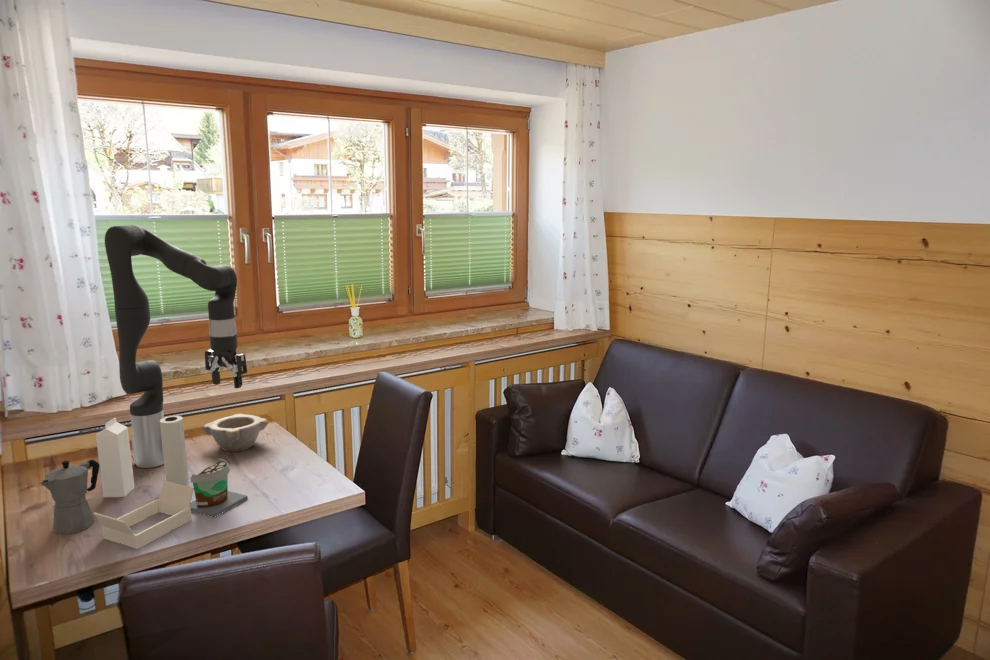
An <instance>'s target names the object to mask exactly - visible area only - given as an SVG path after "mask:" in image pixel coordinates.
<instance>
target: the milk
mask: <svg viewBox="0 0 990 660" xmlns="http://www.w3.org/2000/svg"><path fill="white" fill-rule="evenodd" d="M104 426H105V428H104V429H102V430H101V431H99V432H98V433H96V434H95V440H96V449H97V456H98V457H97V458H98V463H99V471H100V473H99V474H100V479H101V488H102V497H103V498H125V497H127V496H128V495H129V494H131V492H132V491H133V490H134V489H135V478H134V471H133V463H132V462H133V461H132V453H131V444H130V438H129V437H130V436H129V428H128V426H126V425H124V424H122V423H120V422H118V421H117V417H114V418H112V419H110V420H108V421H107V422H106V423H105V425H104Z"/></svg>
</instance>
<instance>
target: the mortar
mask: <svg viewBox="0 0 990 660" xmlns="http://www.w3.org/2000/svg"><path fill="white" fill-rule="evenodd" d="M268 424H269V421H268V419H267V418H263V417H260V416H258V415H253V414H244V413H236V414H232V415H229V416H225V417H222V418H217V419H216V420H214V421H211V422H208V423H205V424H204V425H203V426H202V430H203V431H204V433H206V434H207V435H208V436H212V437H213V439H214V440H215V442H216V444H217V445H218V446H219V447H220V448H221V449H222V450H224V451H226V452H233V453H234V452H242V451H245V450H249V449H251V447H253V446H254V444H255V443H256V440H257V439H258V436H259V434H260V432H261V431H263V430H265V428H267V426H268Z"/></svg>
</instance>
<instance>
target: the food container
mask: <svg viewBox="0 0 990 660" xmlns="http://www.w3.org/2000/svg"><path fill="white" fill-rule="evenodd" d="M230 471H231V467H230V465H229V463H228V461H227V460H225V459H223V458H218V462H217V463H214V464H213V465H211V466H208V467H205V468H204V469H203V470H201V472H199V473H198V474H191V477H190V483H192V485H193V487H192V488H194V491H193V493H194V497H195V500H196V503H197V507H199V508H207V507H213V506H216V505H219V504H221V503H223V502H225V501H226V500H227V497H228V491H229V490H228V489H229V488H228V485H229V484H228V482H229V481H228V479H229V478H228V475H229V474H230Z"/></svg>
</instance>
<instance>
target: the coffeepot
mask: <svg viewBox="0 0 990 660" xmlns="http://www.w3.org/2000/svg"><path fill="white" fill-rule="evenodd" d="M61 465H62V467H58V468H55V469H52V470H51V471H50V472H47V473H46V474H44V476H45V478H44V479H43V480H42V481H41V482H40V486H44V487H45V488H46V489H47V490H48V491H49V492H50V494H51V497H52V499H53V501H54V508H53V509H54V510H53V524H52V525H53V526H52V529H53V530H54V532H55V534H59V535H72V534H75V533H80V532H82V531H85V530H86V529H89V528H90V527H92V526H93V524H94V523H95V519H94V516H93V515H94V514H93V512H92V510H91V506H90V505H89V500H88V499H87V498H86V494H88V492H92V491H93V490H95V489H96V487H97V481H98V476H99V471H100V465H99V461H96V460H95V459H90V460H88V461H84V462H82V463H79V464H73V465H72V464H71V465H70V461H69V460H63V461H62V462H61ZM90 468H92V469H91V477H90V487H88V474H89V469H90Z"/></svg>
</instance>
